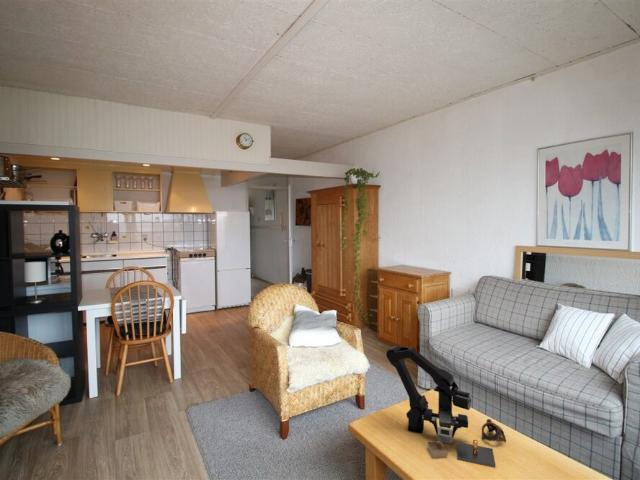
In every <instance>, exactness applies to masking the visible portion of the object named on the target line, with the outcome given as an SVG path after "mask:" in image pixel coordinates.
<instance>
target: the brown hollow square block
mask: <svg viewBox="0 0 640 480" xmlns="http://www.w3.org/2000/svg"><path fill="white" fill-rule="evenodd" d="M426 442H427V443H426V444H427V445H426V448H427V452H428V453H429V454H430V456H431V458H432V459H437V458H438V459H441V458H443V459H444V458H448V449H447V448H446V447H445V445H444V442H441V441H438V440H436V441H426Z"/></svg>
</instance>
